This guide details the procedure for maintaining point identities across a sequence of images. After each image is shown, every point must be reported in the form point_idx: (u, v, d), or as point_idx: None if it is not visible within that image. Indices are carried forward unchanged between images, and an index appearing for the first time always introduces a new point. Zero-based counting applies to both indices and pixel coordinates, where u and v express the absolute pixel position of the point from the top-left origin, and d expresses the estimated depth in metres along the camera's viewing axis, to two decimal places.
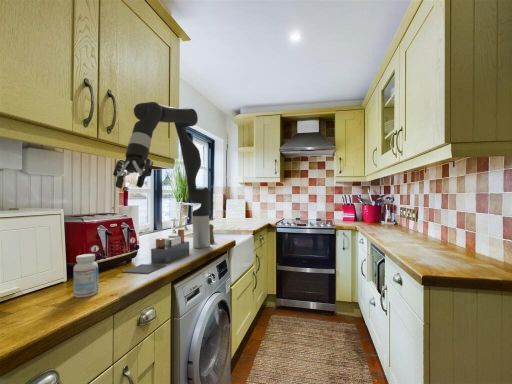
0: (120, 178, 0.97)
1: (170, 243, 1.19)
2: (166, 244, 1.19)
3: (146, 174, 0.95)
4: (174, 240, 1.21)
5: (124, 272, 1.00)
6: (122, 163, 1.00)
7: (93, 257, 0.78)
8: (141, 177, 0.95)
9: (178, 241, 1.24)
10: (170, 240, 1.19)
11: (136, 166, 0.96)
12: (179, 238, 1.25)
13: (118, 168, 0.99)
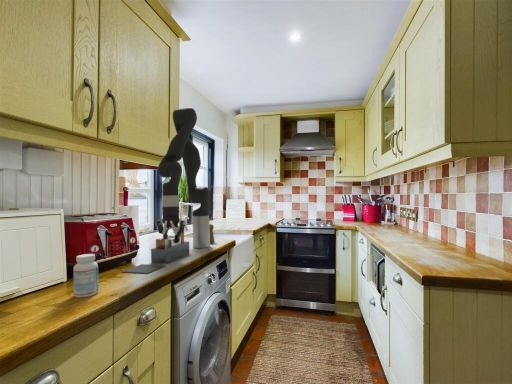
0: (165, 235, 1.23)
1: (170, 243, 1.19)
2: (166, 244, 1.19)
3: (180, 233, 1.21)
4: (174, 240, 1.21)
5: (124, 272, 1.00)
6: (160, 222, 1.24)
7: (93, 257, 0.78)
8: (177, 236, 1.22)
9: None
10: (170, 240, 1.19)
11: (173, 226, 1.21)
12: None
13: (160, 226, 1.24)
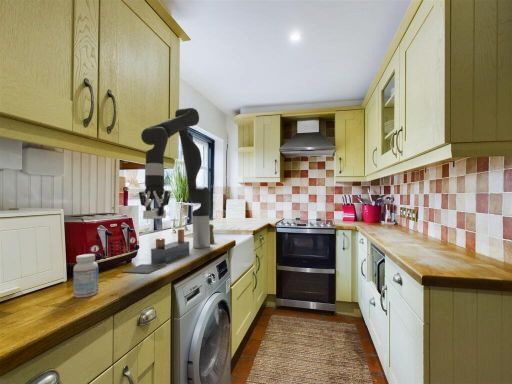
0: (148, 208, 1.12)
1: (153, 215, 1.07)
2: (148, 216, 1.08)
3: (164, 205, 1.10)
4: (157, 212, 1.10)
5: (124, 272, 1.00)
6: (143, 194, 1.13)
7: (93, 257, 0.78)
8: (161, 208, 1.10)
9: None
10: (153, 211, 1.08)
11: (156, 197, 1.10)
12: (164, 211, 1.14)
13: (143, 198, 1.13)
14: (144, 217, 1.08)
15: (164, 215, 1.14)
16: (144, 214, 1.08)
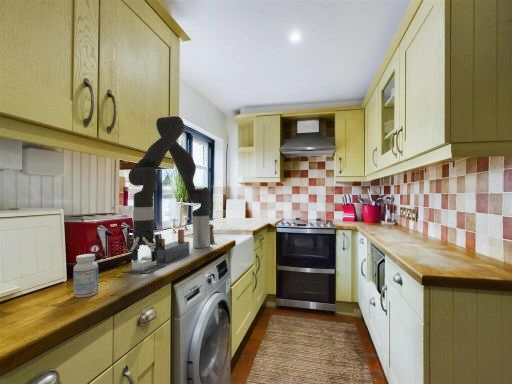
0: (134, 252, 1.05)
1: (142, 267, 1.00)
2: (137, 268, 1.01)
3: (158, 249, 1.03)
4: (147, 263, 1.03)
5: (124, 272, 1.00)
6: (132, 236, 1.06)
7: (93, 257, 0.78)
8: (154, 253, 1.03)
9: (153, 263, 1.06)
10: (142, 263, 1.00)
11: (147, 242, 1.02)
12: None
13: (130, 241, 1.05)
14: (133, 269, 1.01)
15: (155, 263, 1.07)
16: (133, 266, 1.01)
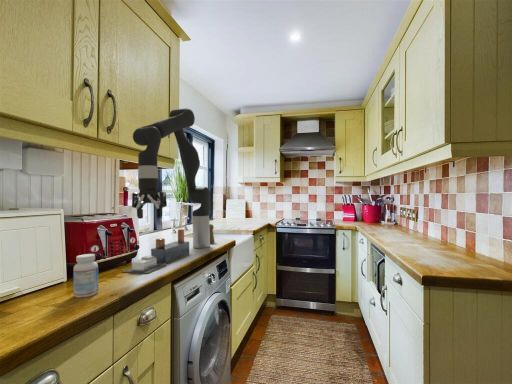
0: (140, 210, 1.08)
1: (142, 267, 1.00)
2: (137, 268, 1.01)
3: (163, 206, 1.06)
4: (147, 263, 1.03)
5: (124, 272, 1.00)
6: (137, 194, 1.09)
7: (93, 257, 0.78)
8: (159, 210, 1.06)
9: (153, 263, 1.06)
10: (142, 263, 1.00)
11: (152, 200, 1.05)
12: (154, 260, 1.07)
13: (135, 200, 1.08)
14: (133, 269, 1.01)
15: (155, 263, 1.07)
16: (133, 266, 1.01)
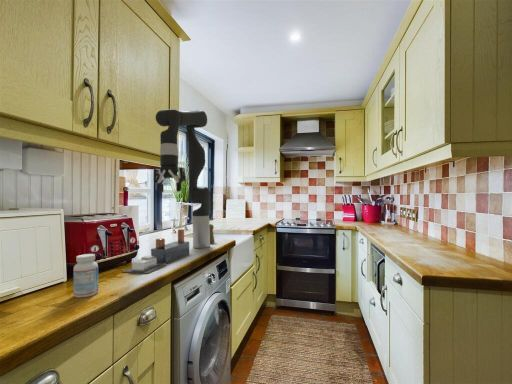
0: (161, 184, 1.19)
1: (142, 267, 1.00)
2: (137, 268, 1.01)
3: (182, 181, 1.17)
4: (147, 263, 1.03)
5: (124, 272, 1.00)
6: (158, 170, 1.20)
7: (93, 257, 0.78)
8: (179, 183, 1.17)
9: (153, 263, 1.06)
10: (142, 263, 1.00)
11: (172, 174, 1.16)
12: (154, 260, 1.07)
13: (156, 175, 1.19)
14: (133, 269, 1.01)
15: (155, 263, 1.07)
16: (133, 266, 1.01)
